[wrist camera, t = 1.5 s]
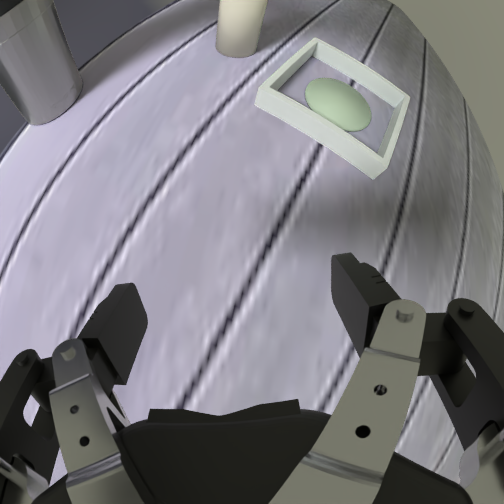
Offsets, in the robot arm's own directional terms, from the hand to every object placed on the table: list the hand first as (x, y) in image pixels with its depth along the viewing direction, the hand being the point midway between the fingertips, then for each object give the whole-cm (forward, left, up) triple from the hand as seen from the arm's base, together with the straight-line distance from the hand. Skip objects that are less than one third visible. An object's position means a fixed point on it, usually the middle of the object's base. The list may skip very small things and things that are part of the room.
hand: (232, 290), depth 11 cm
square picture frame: (-1, +27, -13) cm, 30 cm away
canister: (-17, +28, -13) cm, 35 cm away
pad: (-1, +27, -13) cm, 30 cm away
